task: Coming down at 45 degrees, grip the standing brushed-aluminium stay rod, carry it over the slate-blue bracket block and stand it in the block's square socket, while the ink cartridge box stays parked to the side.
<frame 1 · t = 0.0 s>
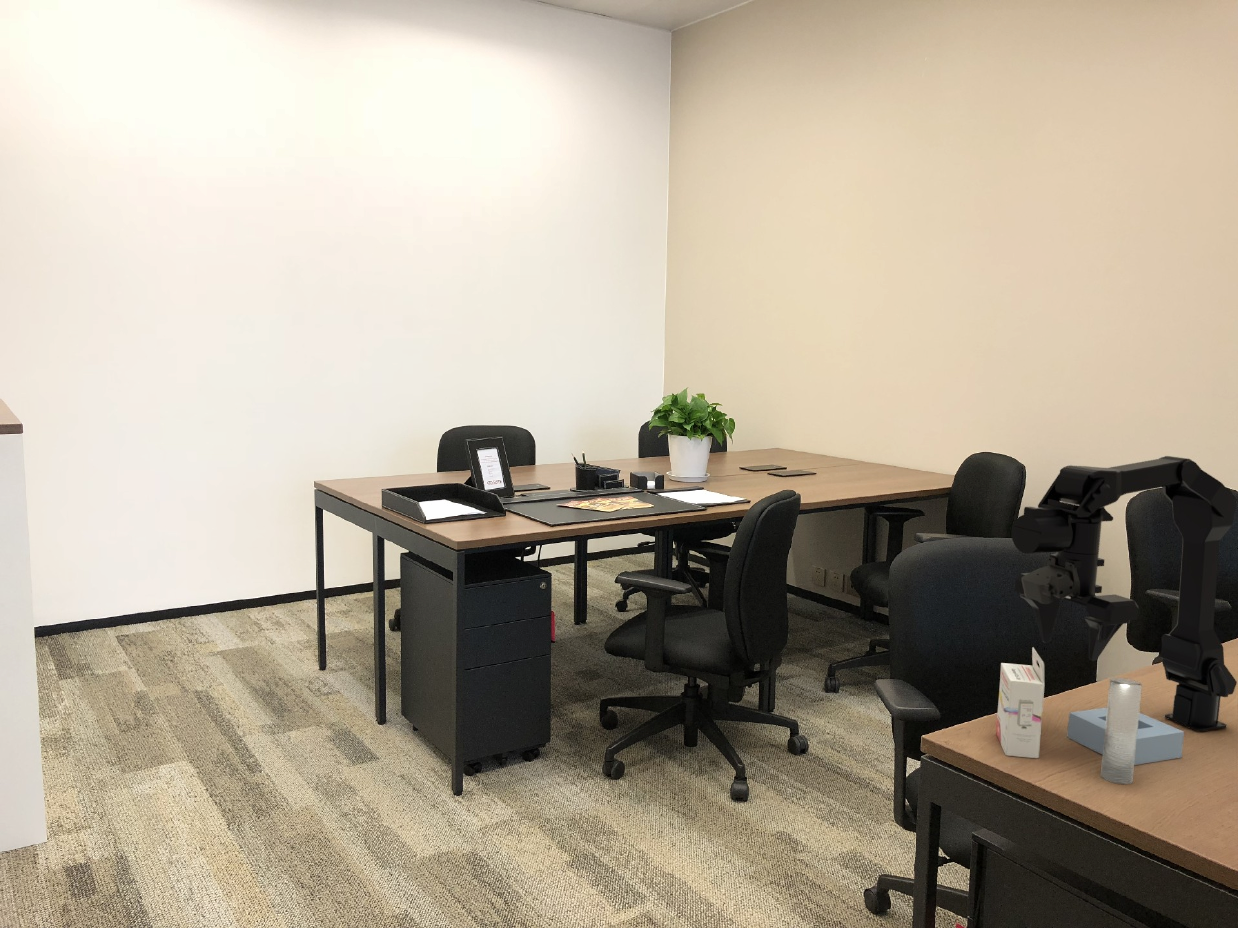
hand: (1068, 650, 146), 15 cm above the table, tool pointing down, fingers open, 9 cm apart
ink cartridge box: (1015, 747, 146), on the table
bracket block: (1123, 746, 147), on the table
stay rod: (1116, 777, 136), on the table
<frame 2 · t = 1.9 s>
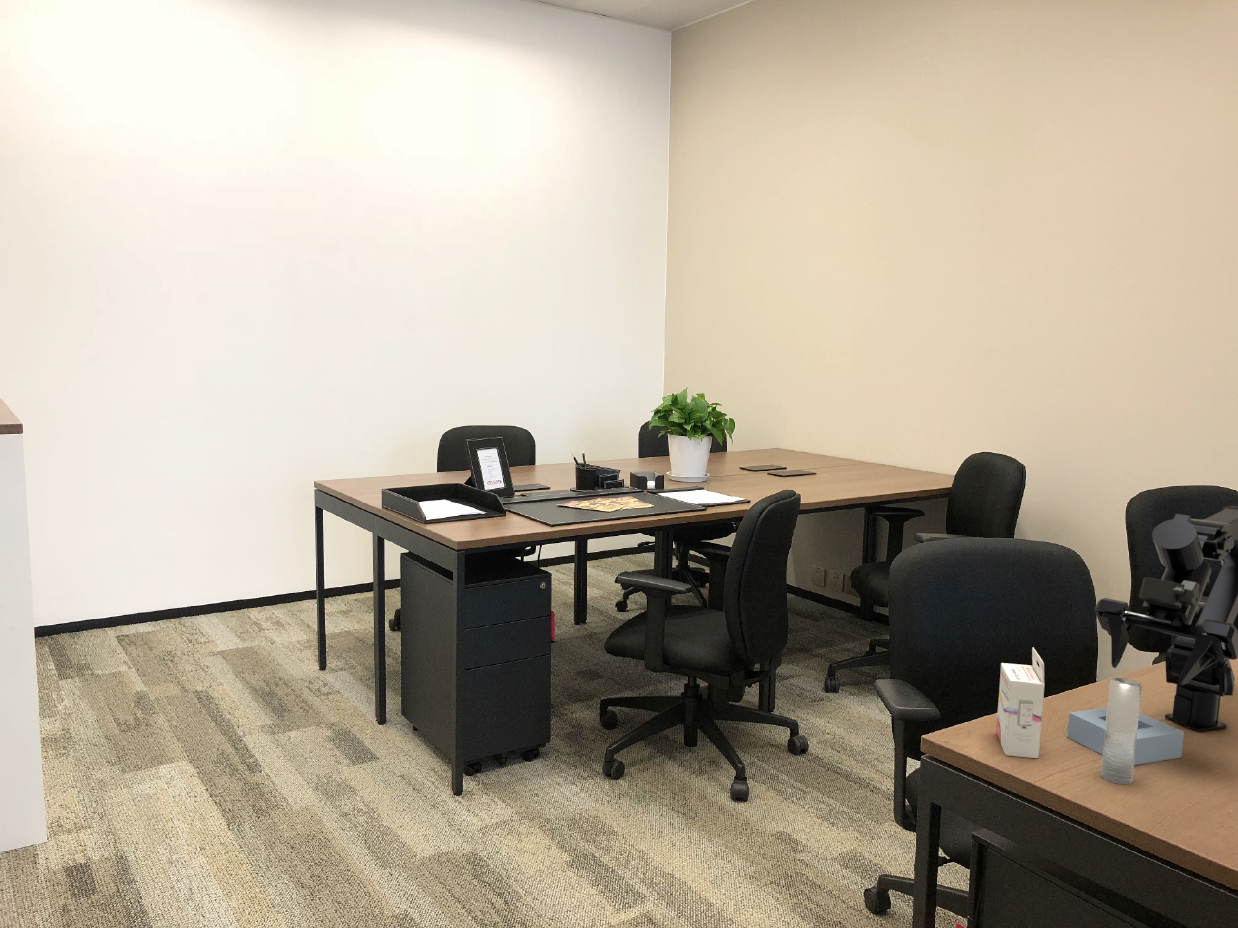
hand: (1146, 674, 140), 13 cm above the table, tool tilted 45°, fingers open, 9 cm apart
nothing on the table moved.
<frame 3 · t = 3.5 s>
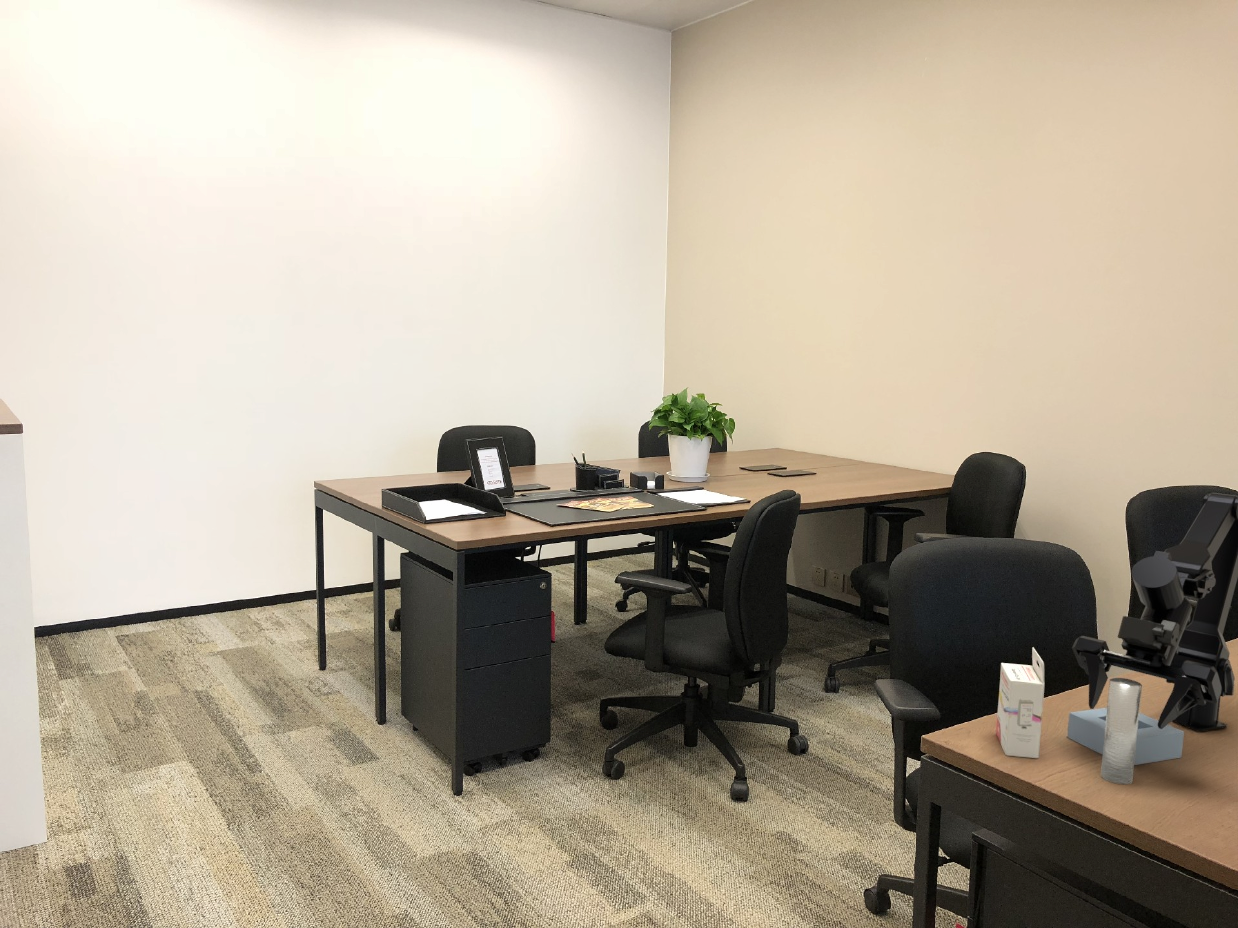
hand: (1124, 716, 135), 9 cm above the table, tool tilted 45°, fingers open, 9 cm apart
nothing on the table moved.
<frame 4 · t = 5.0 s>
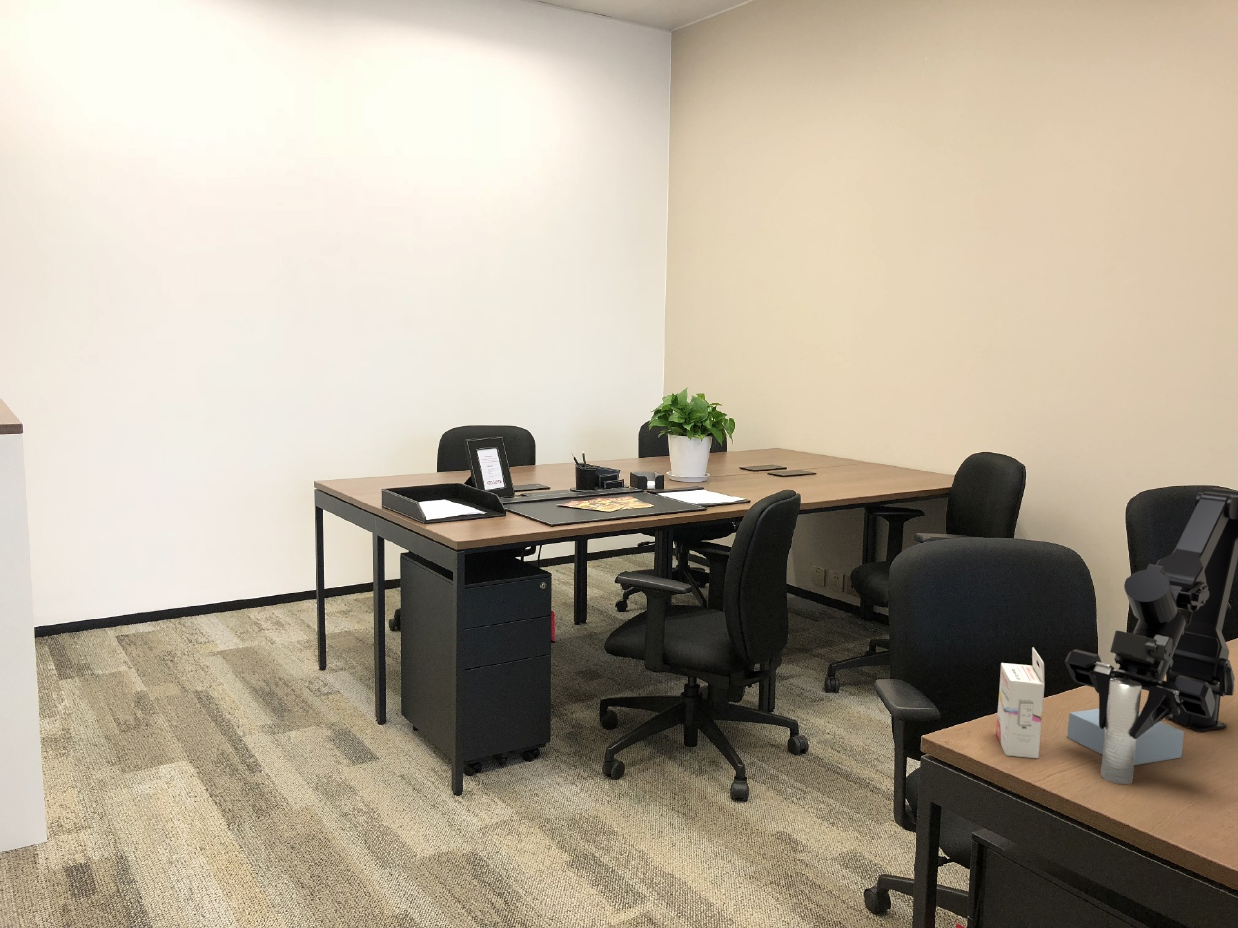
hand: (1117, 732, 134), 7 cm above the table, tool tilted 45°, fingers closed on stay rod, 4 cm apart
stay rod: (1116, 777, 136), on the table, touching gripper
everything else where it was.
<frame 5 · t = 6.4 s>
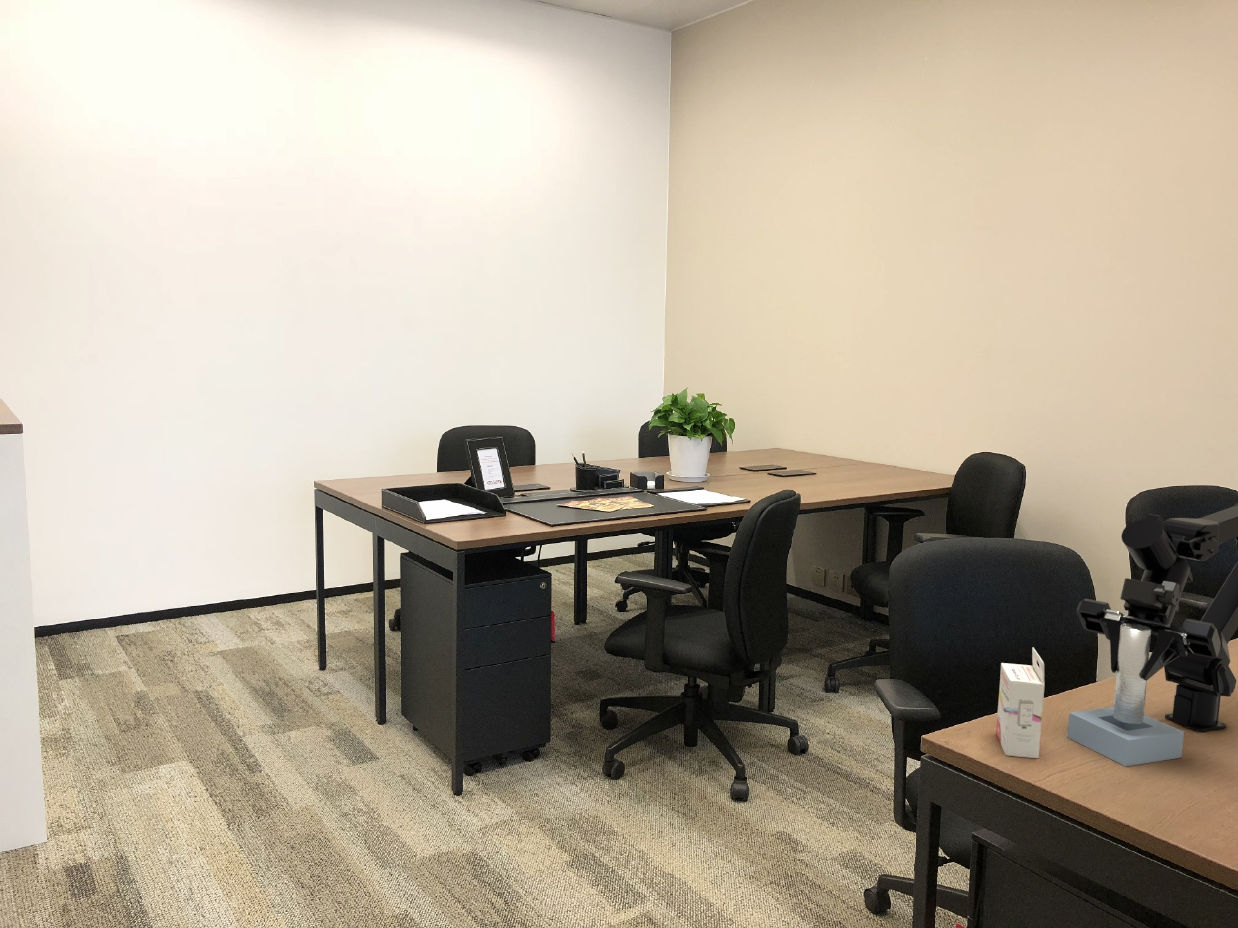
hand: (1128, 674, 141), 13 cm above the table, tool tilted 45°, fingers closed on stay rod, 4 cm apart
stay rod: (1128, 718, 143), point 6 cm above the table, touching gripper
everything else where it was.
when the fingers open (9 cm above the table, at t = 7.9 s): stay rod drops 2 cm, resting in bracket block.
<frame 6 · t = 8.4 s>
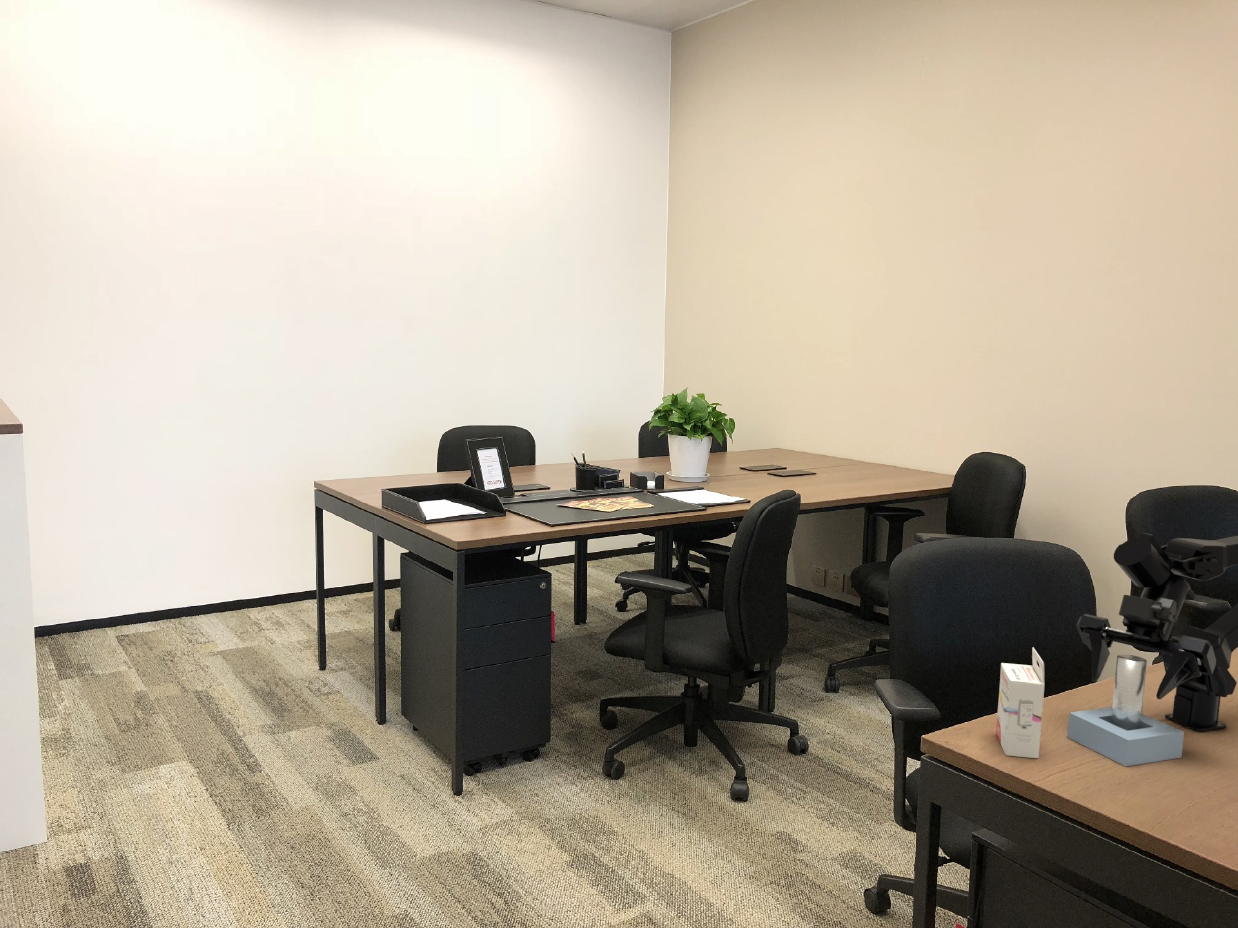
hand: (1125, 688, 145), 10 cm above the table, tool tilted 45°, fingers open, 9 cm apart
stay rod: (1123, 746, 147), resting in bracket block
everything else where it was.
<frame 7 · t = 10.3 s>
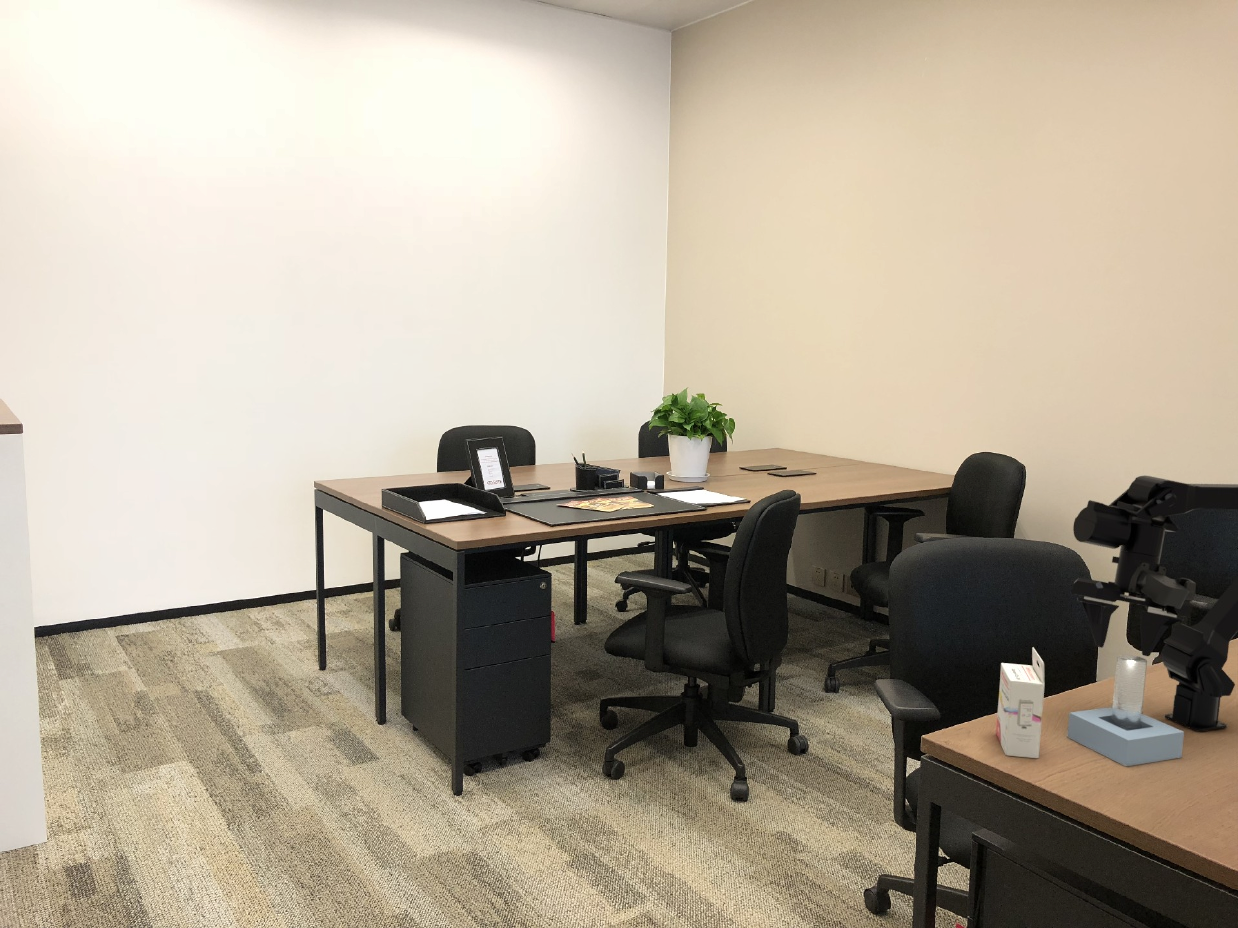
hand: (1122, 651, 152), 13 cm above the table, tool pointing down, fingers open, 9 cm apart
nothing on the table moved.
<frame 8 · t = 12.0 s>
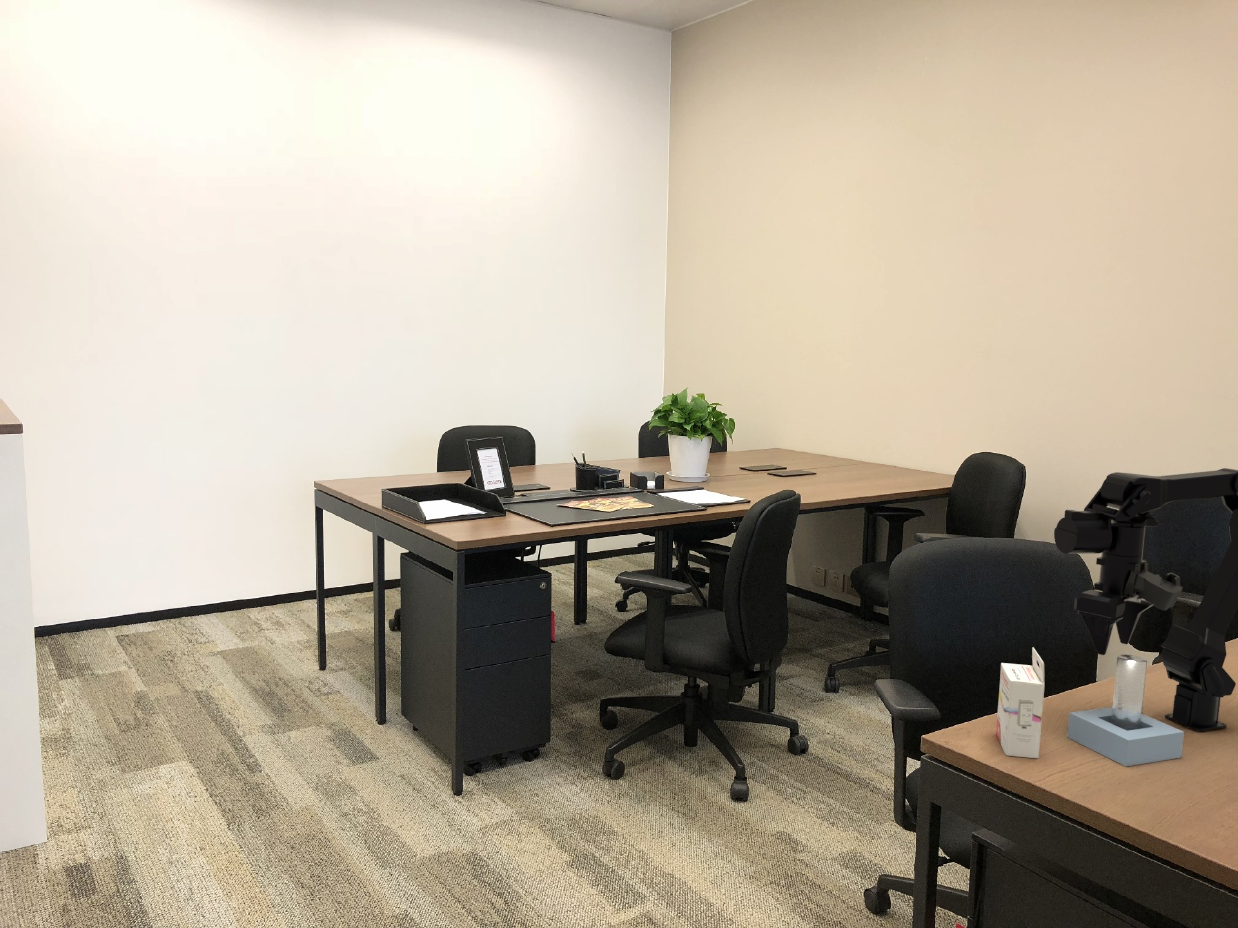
hand: (1113, 648, 153), 13 cm above the table, tool pointing down, fingers open, 9 cm apart
nothing on the table moved.
at the end: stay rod 0.1 cm off-centre on the bracket block, point 0.0 cm above the bracket block's base; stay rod tilted 0°; the gripper is holding nothing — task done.
